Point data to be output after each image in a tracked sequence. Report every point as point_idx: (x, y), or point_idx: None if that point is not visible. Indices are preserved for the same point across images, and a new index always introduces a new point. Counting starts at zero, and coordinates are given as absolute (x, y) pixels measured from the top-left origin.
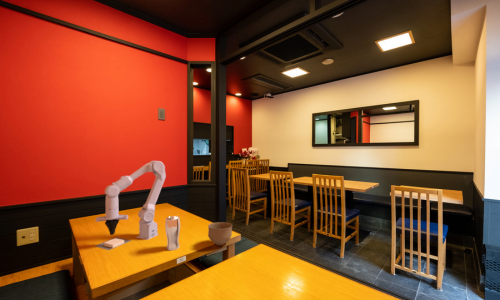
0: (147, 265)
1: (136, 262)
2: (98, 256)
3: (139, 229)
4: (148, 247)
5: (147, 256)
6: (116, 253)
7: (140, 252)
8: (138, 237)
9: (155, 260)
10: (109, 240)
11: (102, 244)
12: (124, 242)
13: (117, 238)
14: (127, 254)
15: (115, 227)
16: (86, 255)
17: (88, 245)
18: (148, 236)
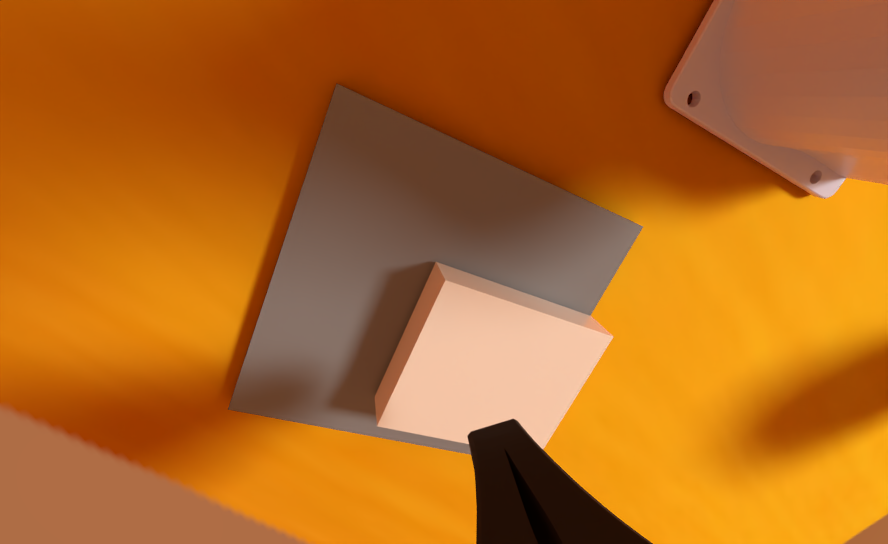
0: (830, 540)
1: (771, 531)
2: (468, 531)
3: (862, 111)
4: (829, 349)
5: (827, 468)
6: (594, 471)
7: (776, 431)
8: (713, 120)
9: (870, 496)
10: (303, 228)
11: (311, 360)
12: (579, 287)
13: (388, 145)
14: (689, 469)
15: (584, 509)
16: (335, 541)
17: (76, 368)
18: (878, 181)
